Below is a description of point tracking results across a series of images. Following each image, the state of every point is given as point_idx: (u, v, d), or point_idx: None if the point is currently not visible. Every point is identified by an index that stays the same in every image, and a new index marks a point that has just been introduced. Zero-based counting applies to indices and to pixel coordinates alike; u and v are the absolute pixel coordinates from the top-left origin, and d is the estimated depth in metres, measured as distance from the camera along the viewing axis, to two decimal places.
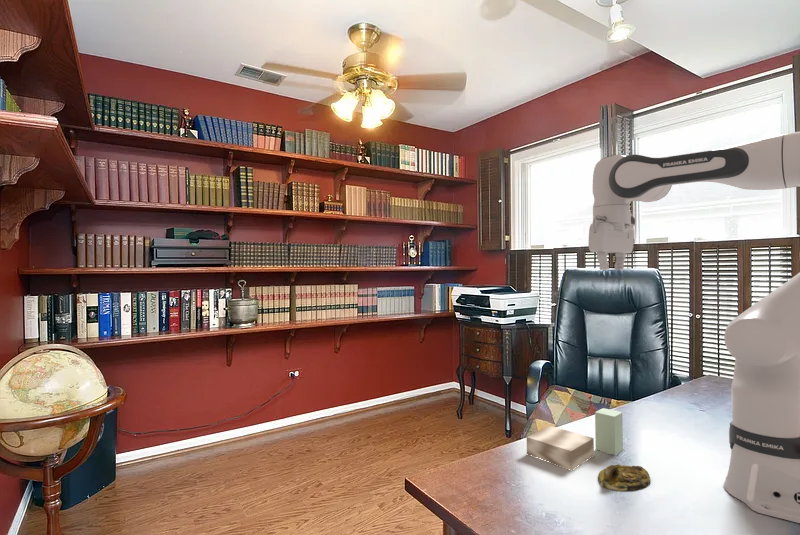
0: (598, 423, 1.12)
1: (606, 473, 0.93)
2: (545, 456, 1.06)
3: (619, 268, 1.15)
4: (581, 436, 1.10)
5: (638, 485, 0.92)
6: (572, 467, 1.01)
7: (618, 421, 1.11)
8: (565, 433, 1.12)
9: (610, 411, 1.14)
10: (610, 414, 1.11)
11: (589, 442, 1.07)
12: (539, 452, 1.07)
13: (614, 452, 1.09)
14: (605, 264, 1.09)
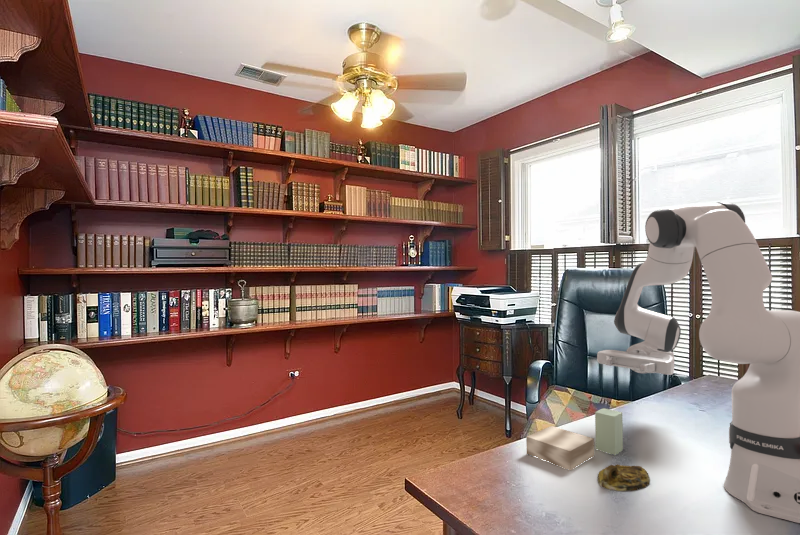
0: (598, 423, 1.12)
1: (605, 473, 0.93)
2: (544, 456, 1.06)
3: None
4: (581, 437, 1.10)
5: (637, 485, 0.92)
6: (571, 467, 1.01)
7: (618, 421, 1.11)
8: (565, 433, 1.12)
9: (610, 411, 1.14)
10: (610, 414, 1.11)
11: (589, 442, 1.07)
12: (539, 452, 1.07)
13: (614, 452, 1.09)
14: None
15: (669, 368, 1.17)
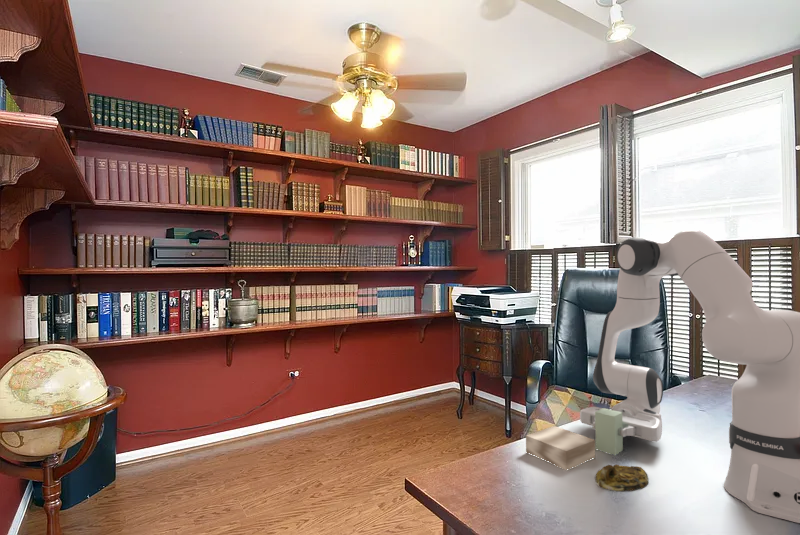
0: (598, 423, 1.12)
1: (602, 473, 0.93)
2: (542, 455, 1.07)
3: None
4: (582, 438, 1.09)
5: (635, 485, 0.92)
6: (567, 467, 1.01)
7: (618, 421, 1.11)
8: (566, 433, 1.12)
9: (610, 411, 1.14)
10: (610, 414, 1.11)
11: (589, 443, 1.07)
12: (537, 451, 1.08)
13: (614, 452, 1.09)
14: None
15: (655, 435, 1.08)
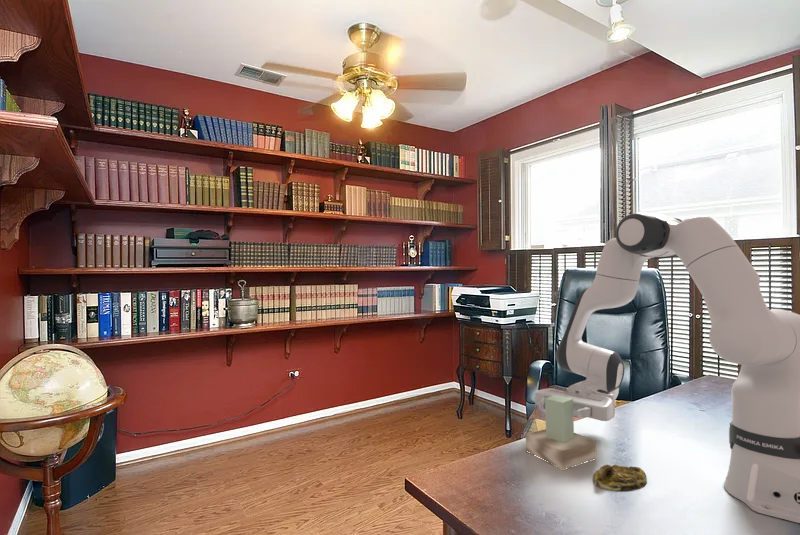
0: (548, 410, 1.09)
1: (600, 472, 0.94)
2: (541, 454, 1.07)
3: None
4: (582, 439, 1.08)
5: (632, 485, 0.92)
6: (564, 467, 1.02)
7: (567, 408, 1.08)
8: None
9: (561, 397, 1.11)
10: (559, 401, 1.08)
11: (589, 445, 1.06)
12: (536, 450, 1.09)
13: (564, 439, 1.06)
14: None
15: (605, 414, 1.05)
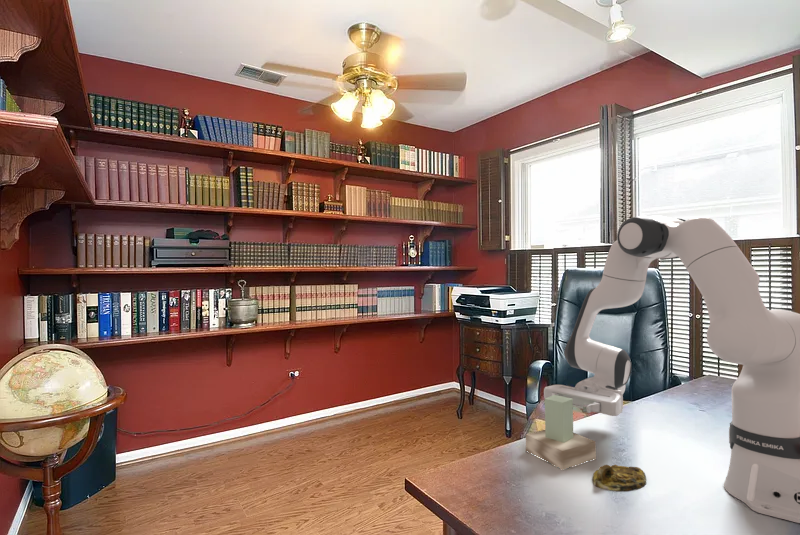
0: (548, 410, 1.09)
1: (599, 472, 0.94)
2: (541, 454, 1.07)
3: None
4: (582, 439, 1.08)
5: (631, 486, 0.92)
6: (564, 467, 1.02)
7: (567, 408, 1.08)
8: None
9: (561, 397, 1.11)
10: (559, 401, 1.08)
11: (589, 445, 1.06)
12: (536, 450, 1.09)
13: (563, 439, 1.06)
14: None
15: (614, 409, 1.09)
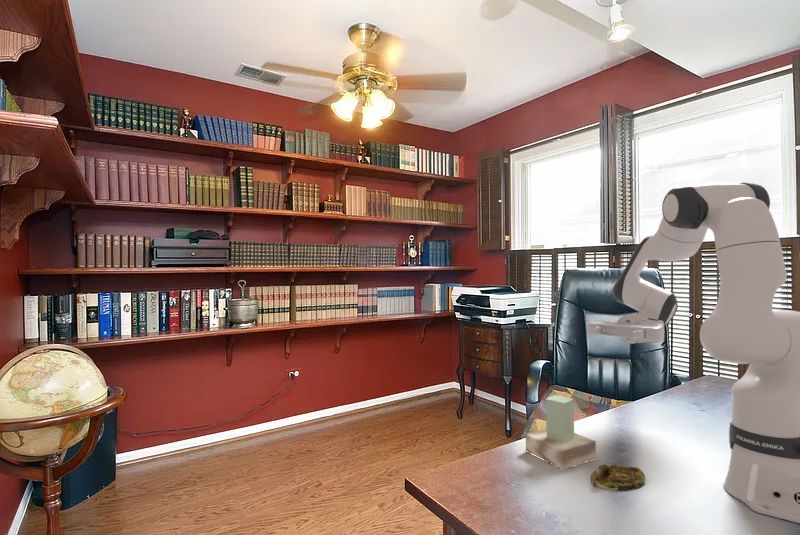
0: (549, 410, 1.09)
1: (597, 472, 0.94)
2: (541, 454, 1.07)
3: None
4: (582, 439, 1.08)
5: (629, 486, 0.92)
6: (564, 467, 1.02)
7: (568, 408, 1.07)
8: None
9: (562, 397, 1.11)
10: (560, 401, 1.07)
11: (589, 445, 1.06)
12: (536, 450, 1.09)
13: (564, 440, 1.06)
14: None
15: (658, 334, 1.17)
